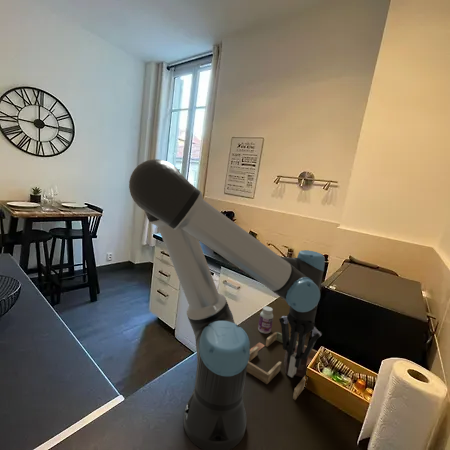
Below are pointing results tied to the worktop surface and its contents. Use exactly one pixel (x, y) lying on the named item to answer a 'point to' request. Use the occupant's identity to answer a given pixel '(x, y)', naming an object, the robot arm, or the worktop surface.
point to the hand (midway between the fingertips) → (291, 374)
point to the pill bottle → (265, 320)
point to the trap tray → (271, 374)
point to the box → (301, 369)
